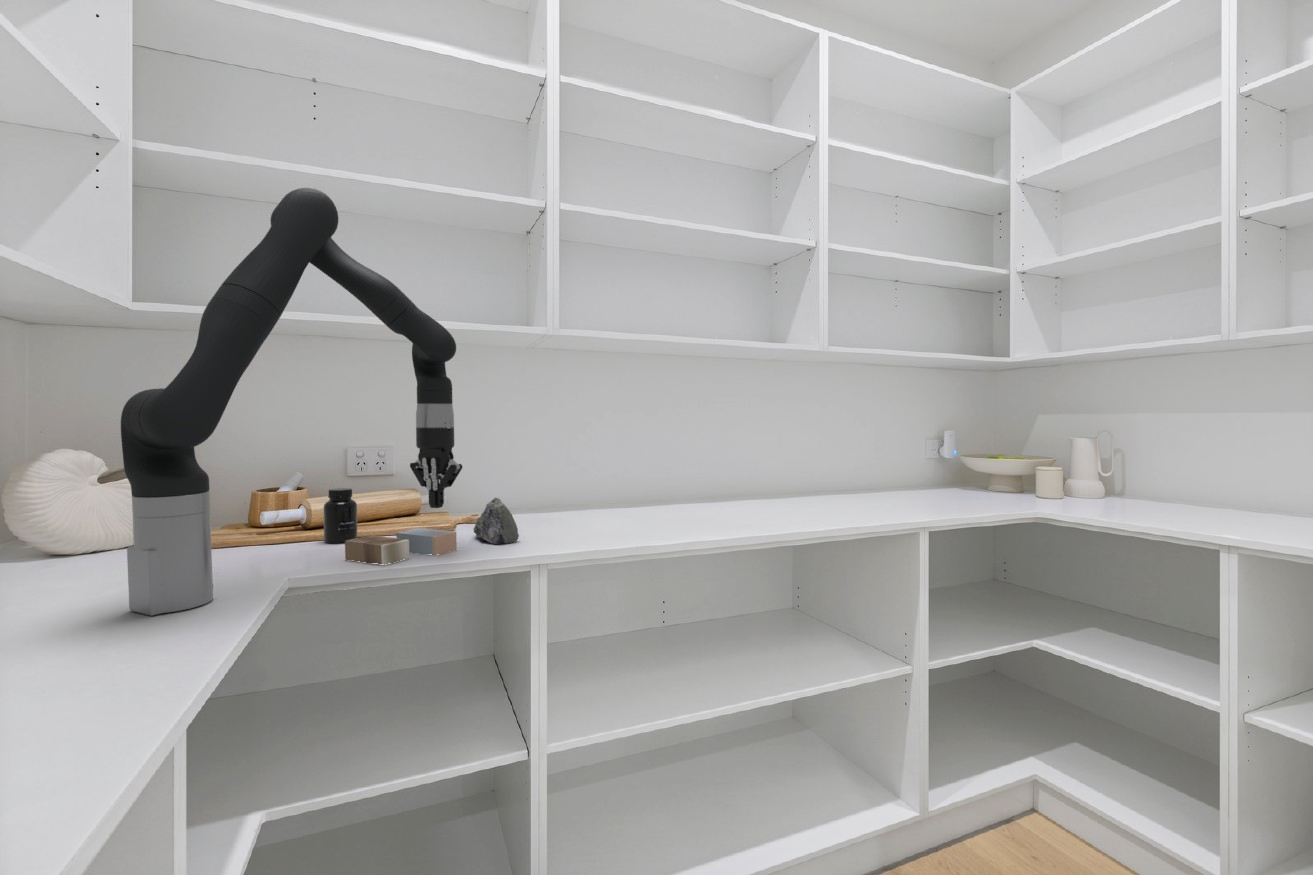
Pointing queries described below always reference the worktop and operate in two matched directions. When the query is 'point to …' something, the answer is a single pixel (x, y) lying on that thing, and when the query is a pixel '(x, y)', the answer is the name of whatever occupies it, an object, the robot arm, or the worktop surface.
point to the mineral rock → (496, 524)
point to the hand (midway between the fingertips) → (436, 507)
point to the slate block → (429, 540)
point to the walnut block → (377, 549)
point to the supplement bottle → (340, 516)
